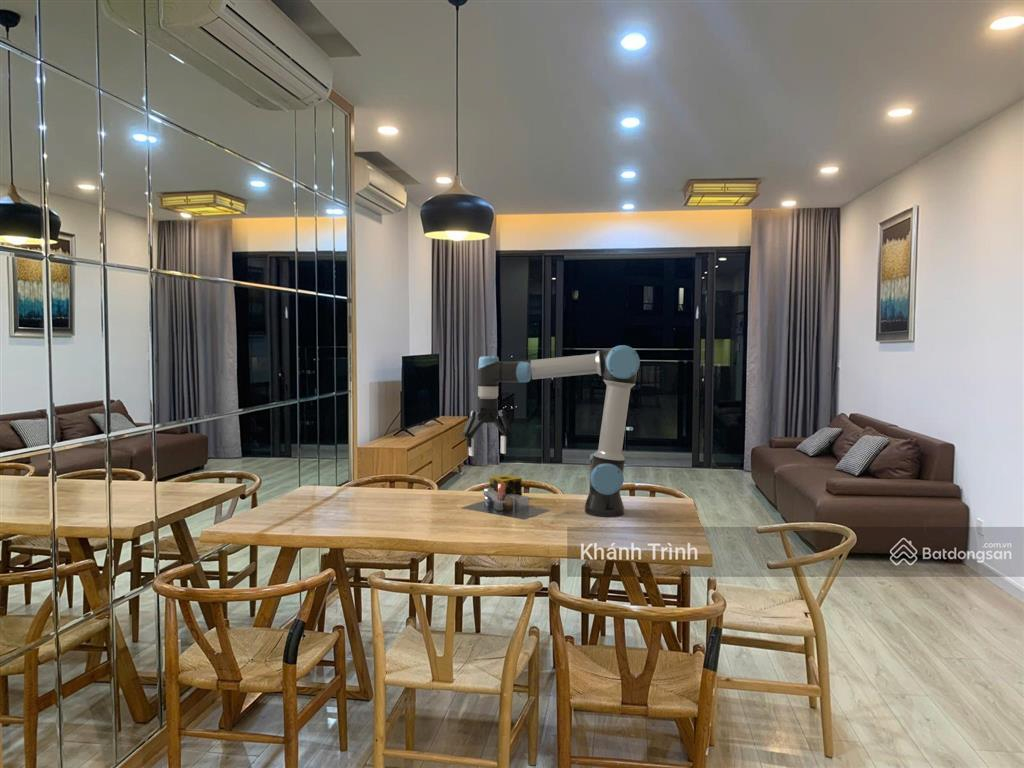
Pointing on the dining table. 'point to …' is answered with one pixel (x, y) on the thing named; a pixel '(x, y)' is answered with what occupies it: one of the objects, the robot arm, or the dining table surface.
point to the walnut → (508, 503)
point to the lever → (497, 495)
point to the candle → (507, 484)
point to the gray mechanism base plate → (518, 511)
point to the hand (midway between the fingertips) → (487, 454)
